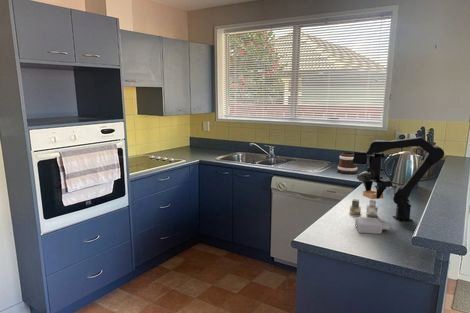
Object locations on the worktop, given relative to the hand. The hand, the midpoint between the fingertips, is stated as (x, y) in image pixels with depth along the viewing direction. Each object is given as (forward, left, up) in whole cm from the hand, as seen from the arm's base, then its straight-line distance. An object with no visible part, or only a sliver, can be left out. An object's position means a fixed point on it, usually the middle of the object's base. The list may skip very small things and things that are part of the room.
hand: (372, 196), depth 168 cm
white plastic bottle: (-19, +9, -10) cm, 23 cm away
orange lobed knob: (0, 0, -10) cm, 10 cm away
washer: (0, 0, 0) cm, 0 cm away
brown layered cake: (+99, -32, -10) cm, 105 cm away
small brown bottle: (+4, +7, -10) cm, 12 cm away
